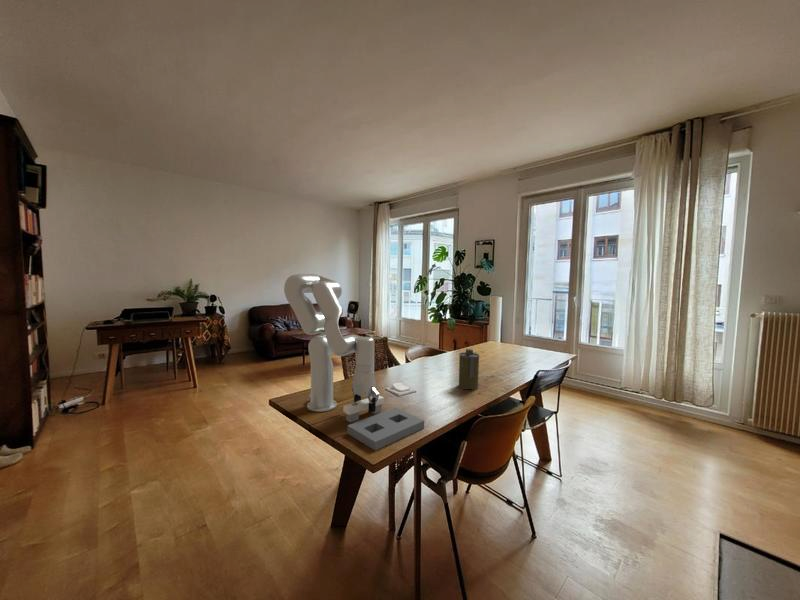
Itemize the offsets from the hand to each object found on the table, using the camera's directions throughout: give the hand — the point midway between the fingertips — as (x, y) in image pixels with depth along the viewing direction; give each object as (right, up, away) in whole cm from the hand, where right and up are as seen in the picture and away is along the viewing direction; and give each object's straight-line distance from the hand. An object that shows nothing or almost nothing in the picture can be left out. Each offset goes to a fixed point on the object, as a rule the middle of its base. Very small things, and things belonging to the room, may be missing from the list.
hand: (364, 408), depth 133 cm
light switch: (+15, -2, +31) cm, 34 cm away
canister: (+51, -2, +38) cm, 64 cm away
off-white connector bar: (0, -3, 0) cm, 3 cm away
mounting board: (+10, -4, -13) cm, 16 cm away
